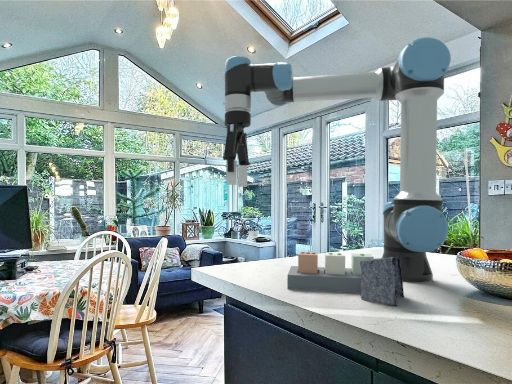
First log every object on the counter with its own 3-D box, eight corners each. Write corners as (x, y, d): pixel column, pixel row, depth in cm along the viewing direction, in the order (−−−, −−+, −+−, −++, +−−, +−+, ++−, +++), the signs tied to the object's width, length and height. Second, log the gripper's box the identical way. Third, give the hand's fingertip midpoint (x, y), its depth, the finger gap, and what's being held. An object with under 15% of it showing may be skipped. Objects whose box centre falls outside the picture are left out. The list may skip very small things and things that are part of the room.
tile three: (317, 270, 95) (317, 251, 95) (317, 274, 90) (317, 254, 90) (299, 269, 96) (299, 250, 96) (298, 273, 91) (298, 253, 91)
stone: (413, 311, 79) (404, 308, 71) (370, 312, 84) (356, 309, 76) (405, 259, 84) (396, 251, 76) (365, 263, 89) (351, 255, 81)
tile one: (370, 272, 92) (370, 253, 93) (373, 276, 88) (373, 256, 88) (351, 272, 93) (351, 252, 94) (353, 276, 88) (353, 255, 89)
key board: (378, 285, 95) (378, 269, 95) (386, 298, 84) (386, 279, 84) (291, 281, 100) (291, 266, 100) (287, 292, 88) (287, 274, 88)
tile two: (343, 271, 94) (343, 252, 94) (345, 275, 89) (345, 255, 89) (325, 270, 95) (325, 251, 95) (325, 274, 90) (325, 254, 90)
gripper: (235, 122, 113) (235, 187, 113) (212, 101, 89) (211, 183, 88) (258, 121, 112) (257, 187, 111) (240, 99, 87) (240, 183, 87)
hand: (237, 185), depth 100 cm, fingers open, 13 cm apart
